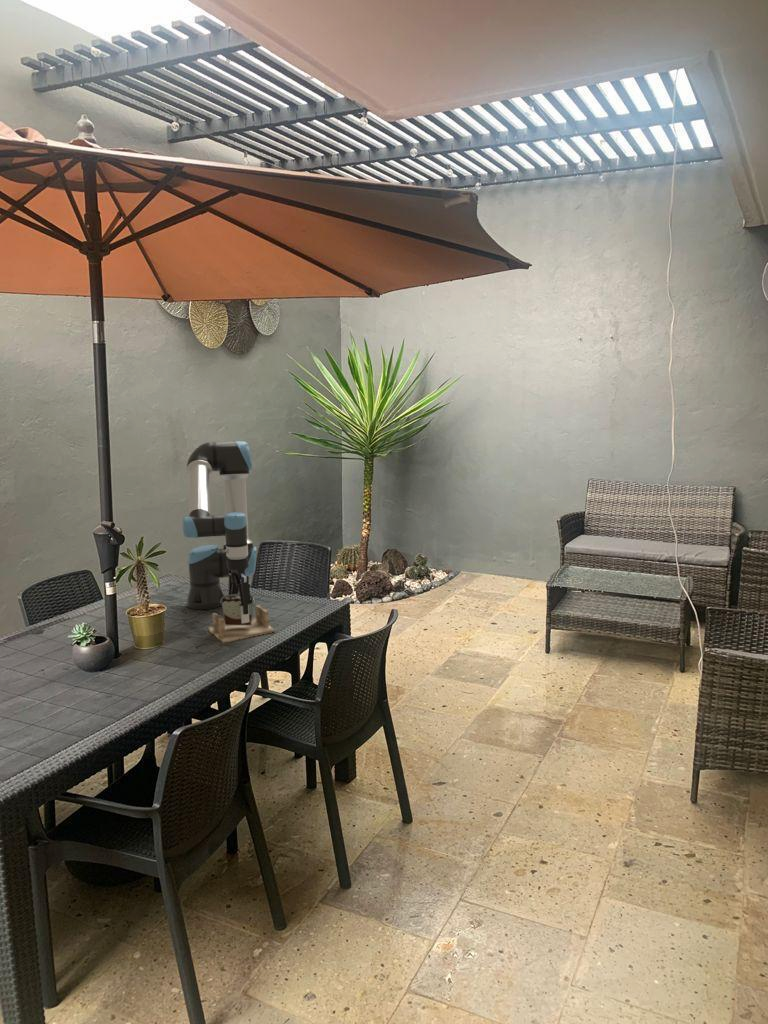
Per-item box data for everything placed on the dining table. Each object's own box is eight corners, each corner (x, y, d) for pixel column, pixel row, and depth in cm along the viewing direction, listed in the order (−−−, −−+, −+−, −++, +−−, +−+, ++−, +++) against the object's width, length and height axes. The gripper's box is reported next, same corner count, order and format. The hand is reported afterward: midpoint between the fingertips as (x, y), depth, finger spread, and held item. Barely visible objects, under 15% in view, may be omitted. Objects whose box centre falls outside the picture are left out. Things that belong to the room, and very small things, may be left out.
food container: (259, 620, 263) (258, 593, 262) (255, 625, 257) (254, 597, 256) (226, 620, 264) (225, 593, 263) (221, 625, 258) (219, 597, 257)
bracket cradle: (208, 629, 263) (206, 611, 262) (257, 620, 273) (256, 602, 271) (223, 643, 249) (222, 623, 248) (275, 632, 259) (274, 613, 258)
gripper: (216, 552, 263) (220, 613, 267) (237, 564, 245) (241, 629, 249) (236, 550, 267) (240, 609, 271) (258, 561, 249) (262, 625, 253)
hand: (240, 619), depth 260 cm, fingers closed on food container, 8 cm apart
